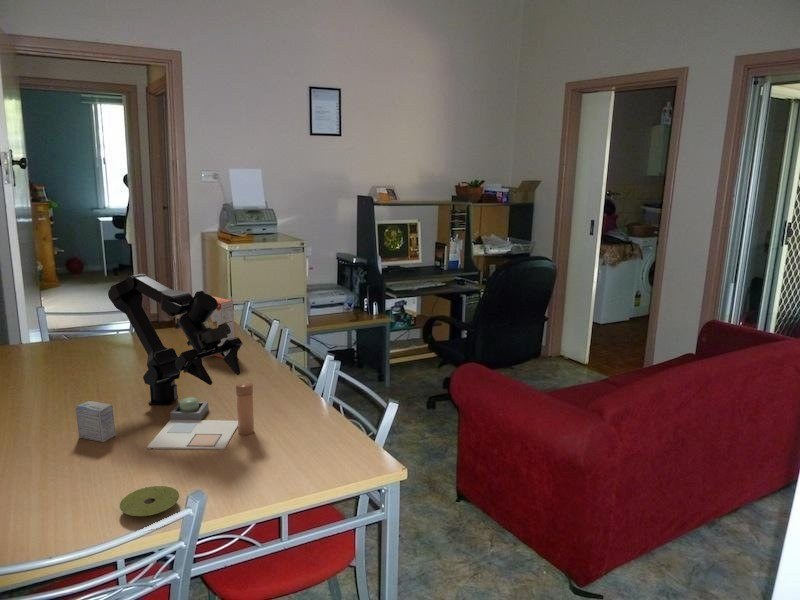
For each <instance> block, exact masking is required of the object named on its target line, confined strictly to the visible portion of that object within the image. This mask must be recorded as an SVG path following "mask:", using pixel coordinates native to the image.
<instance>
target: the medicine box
mask: <svg viewBox="0 0 800 600" xmlns="http://www.w3.org/2000/svg"><path fill="white" fill-rule="evenodd" d="M113 408H114V407H113V405H112V404H109V403H104V402H98V401H91V400H88V401H85V402H83V403H81V404H78V405H76V407H75V413H76V414H75V415H76V421H77V422H76V423H77V431H78V438H81V439H85V440H91V441H95V442H99V443H105V442H106V441H108V440H111V439H112V438H113V437H116V435H117V434H116V425H115V416H114V409H113Z"/></svg>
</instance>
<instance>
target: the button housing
mask: <svg viewBox="0 0 800 600" xmlns="http://www.w3.org/2000/svg"><path fill="white" fill-rule="evenodd" d="M208 411H209V401H199V410H198V411H197V412H180V401H179V402H178V403H177V404H176V406H174V408H173V409H172V410H171V411H170V412H169V418H170V419H169V421H170V420H202V419H203V418H204V417H205V415H206V414H207V413H208Z"/></svg>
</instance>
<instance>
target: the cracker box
mask: <svg viewBox="0 0 800 600" xmlns="http://www.w3.org/2000/svg"><path fill="white" fill-rule="evenodd" d="M211 296H212V297H213V298H215V299H216V300H217V303H218V307H217V308H216V310H215V311H214V312H213V314H212V315H211V316H210V318H209V319H208V320H207V321H206V322H203V323H204V324H205V326H206V327H207V328H212V329H215V328H218V325H221V324H223V323H227V324H228V326H229V327H230V330H231V333H230V334H228V335H227V336H228V337H227V338H223V339H221V343H220V344H218V346H222V345H223V343H224V342H225V341H226V340H227V339H230V338H234V337H236V335H235V314H234V300H230V299H227V298H222V297H218V296H215V295H214V296H213V295H211ZM213 356H214V357H217V358H220V359H224V356H222V355H221V354H217V355H213ZM213 356H212V357H213Z"/></svg>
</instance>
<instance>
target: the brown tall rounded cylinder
mask: <svg viewBox="0 0 800 600" xmlns="http://www.w3.org/2000/svg"><path fill="white" fill-rule="evenodd" d="M253 386H254V385H253V383H251V382H241V383H238V384H236V385H235V393H236V408H237V409H236V410H237V421H238V427H237V431H238V434H239V435H241V436H249V435H252V434H254V432H255V423H254V420H255V419H254V398H253V397H254V396H253V393H254V388H253Z"/></svg>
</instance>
